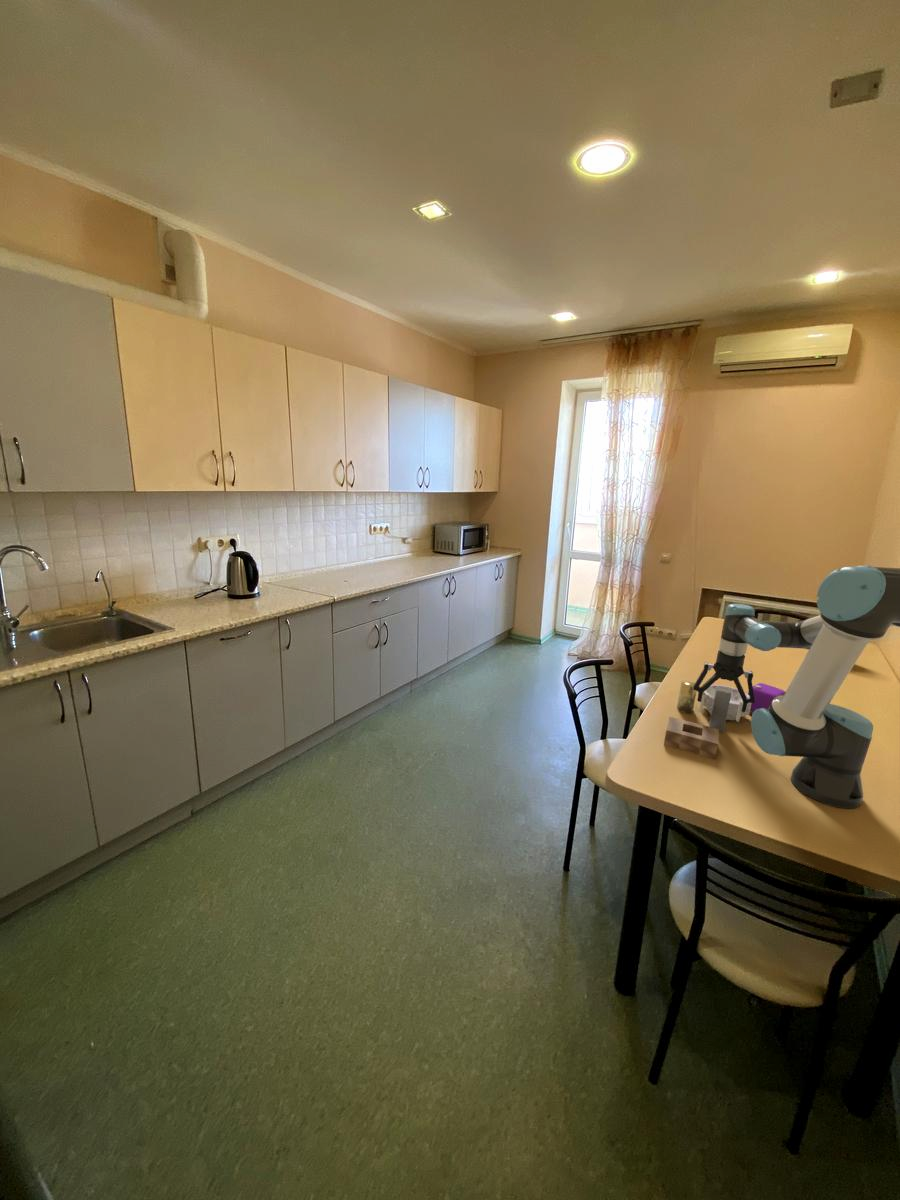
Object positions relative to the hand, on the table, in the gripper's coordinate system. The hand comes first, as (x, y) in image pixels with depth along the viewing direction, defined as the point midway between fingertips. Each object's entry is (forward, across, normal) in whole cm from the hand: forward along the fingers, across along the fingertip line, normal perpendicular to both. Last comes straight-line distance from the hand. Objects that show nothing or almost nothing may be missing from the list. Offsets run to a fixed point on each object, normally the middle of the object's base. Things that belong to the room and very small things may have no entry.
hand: (718, 715), depth 155 cm
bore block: (+5, +7, +16) cm, 18 cm away
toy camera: (+5, -15, -24) cm, 29 cm away
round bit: (+5, +10, -9) cm, 14 cm away
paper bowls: (+5, -2, -13) cm, 14 cm away
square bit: (+5, 0, 0) cm, 5 cm away
